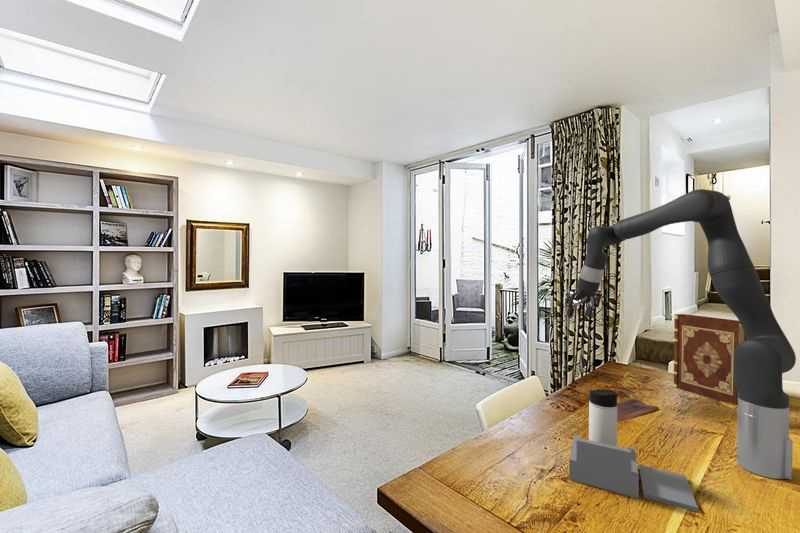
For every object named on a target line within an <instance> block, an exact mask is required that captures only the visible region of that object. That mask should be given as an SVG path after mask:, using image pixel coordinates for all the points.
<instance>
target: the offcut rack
mask: <svg viewBox="0 0 800 533" xmlns="http://www.w3.org/2000/svg"><path fill="white" fill-rule="evenodd" d="M638 470H639V467H638V462H637V454H636V449H635V447H631V446H627V448H625V447H620V446H618V445H617V446H612V445H608V444H603V443H599V442H594V441H590V440H589V439H585V438H581V436H580V435H577V434H574V435H573V438H572V445H571V449H570V456H569V472H568V474H569V478H568V479H569V481H572V482H576V483H579V484H580V483H581V484H583V485H586V486H591V487H595V488H599V489H602V490H605V491H609V492H613V493H617V494H619V495H620V494H621V495H624V496H627V497H631V498H635V499H637V500H638V499H639V498H640V497H639V494H640V493H639V492H640V491H639V489H640V488H639V487H640V486H639V484H640V483H639V482H640V481H639V480H640V478H639V477H640V474H639V471H638Z"/></svg>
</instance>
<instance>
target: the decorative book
mask: <svg viewBox="0 0 800 533" xmlns="http://www.w3.org/2000/svg"><path fill="white" fill-rule="evenodd" d="M672 318H673V319H674V322H673V323H674V324H673V326H674V327H673V328H672V329H673V331H674V333H673V334H674V336H673V338H672V341H673V359H672V364H673V369H672V374H673V382H672V387H673V388H676V389H680V390H683V391H686V392H690V393H693V394H696V395H701V396H703V397H707V398H711V399H714V400H717V401H721V402H724V403H728V404H732V405H734V406H735V405H736V406H738V390H737V388H736V386H735V382H734V352H735V349H736V347H737V345H738V344H739V343H741V342H743V341H745V340H746V336H745V333H744V330H743V328H742V325H741V323H740V321H739V320H738V319H728V318H720V317H713V316H711V317H710V316H705V315H704V316H703V315H702V316H701V315H695V314H688V313H675V314H673V317H672Z"/></svg>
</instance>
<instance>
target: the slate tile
mask: <svg viewBox="0 0 800 533" xmlns="http://www.w3.org/2000/svg"><path fill="white" fill-rule="evenodd" d="M638 470H639V471H638V473H639V477H640V478H639V479H640V482H641V483H640V484H641V490H642V497H643V498H644V499H647V500H650V501H651V500H652V501H655V502H659V503H662V504H665V505H669V506H673V507H677V508H681V509H684V510H688V511H691V512H695V513H699V512H698V510H699V509H698V508H699V507H698V505H697V501H696V500H695V496H694V494H693V492H692V491H693V490H692V488H691V486H690V482H689V480H688V476H687V475H686V474H681V473H676V472H672V471H669V470H664V469H659V468H656V467H652V466H647V465H643V464H638Z"/></svg>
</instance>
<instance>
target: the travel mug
mask: <svg viewBox="0 0 800 533" xmlns="http://www.w3.org/2000/svg"><path fill="white" fill-rule="evenodd" d="M617 403H618V392H616V391H614V390H611V389H610V390H609V389H603V388H602V389H601V388H597V389H594V390H593V389H589V401H588V440H590V441H594V442H599V443H603V444H608V445H612V446H617V447H618V422H617Z"/></svg>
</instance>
